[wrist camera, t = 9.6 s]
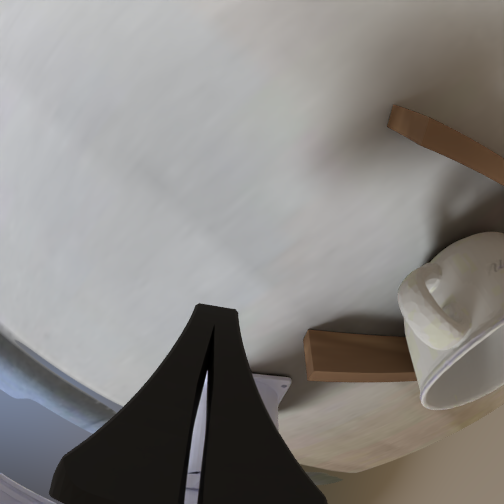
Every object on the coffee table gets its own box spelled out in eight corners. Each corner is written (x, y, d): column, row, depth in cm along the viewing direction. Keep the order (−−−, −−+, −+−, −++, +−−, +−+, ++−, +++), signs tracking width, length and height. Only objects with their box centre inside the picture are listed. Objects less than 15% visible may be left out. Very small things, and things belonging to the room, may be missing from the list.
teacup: (519, 265, 17) (568, 333, 10) (428, 345, 22) (456, 423, 15) (452, 139, 12) (558, 209, 6) (322, 271, 17) (348, 391, 11)
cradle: (461, 346, 22) (474, 375, 19) (303, 340, 21) (307, 380, 18) (553, 196, 13) (580, 219, 10) (393, 104, 12) (429, 117, 9)
